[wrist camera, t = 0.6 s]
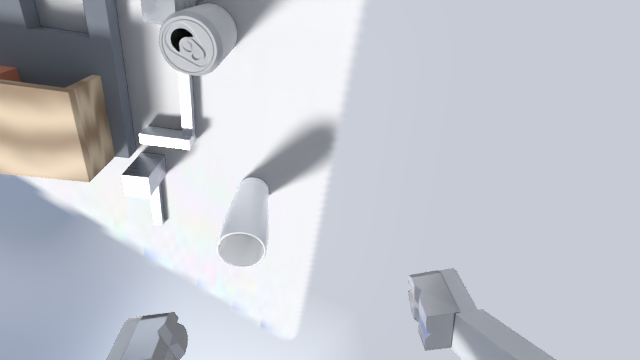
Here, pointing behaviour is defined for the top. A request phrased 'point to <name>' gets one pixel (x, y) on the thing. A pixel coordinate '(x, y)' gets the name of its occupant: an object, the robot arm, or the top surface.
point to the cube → (9, 74)
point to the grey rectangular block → (155, 9)
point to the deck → (71, 58)
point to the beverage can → (197, 38)
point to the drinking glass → (245, 225)
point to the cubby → (54, 130)
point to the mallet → (147, 182)
